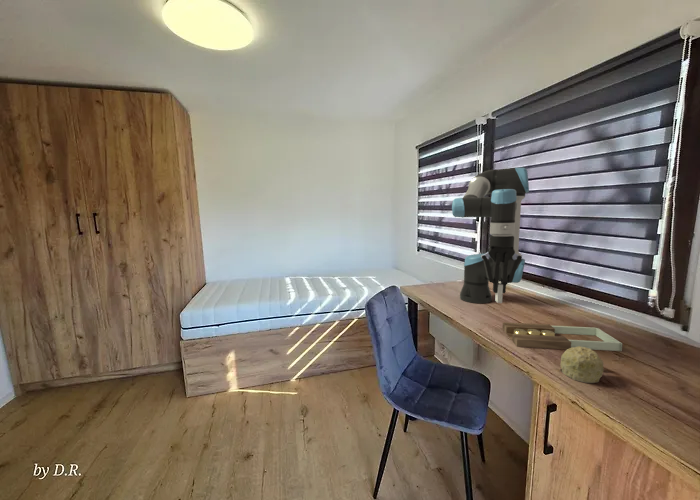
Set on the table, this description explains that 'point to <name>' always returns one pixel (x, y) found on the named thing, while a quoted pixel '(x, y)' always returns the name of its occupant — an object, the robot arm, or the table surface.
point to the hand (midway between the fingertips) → (498, 301)
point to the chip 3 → (547, 333)
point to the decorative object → (582, 364)
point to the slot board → (535, 336)
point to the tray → (595, 345)
